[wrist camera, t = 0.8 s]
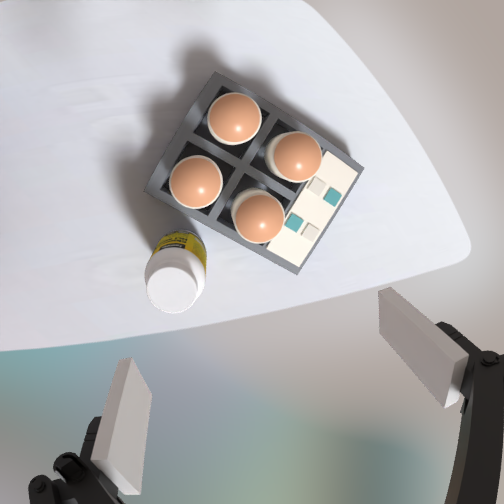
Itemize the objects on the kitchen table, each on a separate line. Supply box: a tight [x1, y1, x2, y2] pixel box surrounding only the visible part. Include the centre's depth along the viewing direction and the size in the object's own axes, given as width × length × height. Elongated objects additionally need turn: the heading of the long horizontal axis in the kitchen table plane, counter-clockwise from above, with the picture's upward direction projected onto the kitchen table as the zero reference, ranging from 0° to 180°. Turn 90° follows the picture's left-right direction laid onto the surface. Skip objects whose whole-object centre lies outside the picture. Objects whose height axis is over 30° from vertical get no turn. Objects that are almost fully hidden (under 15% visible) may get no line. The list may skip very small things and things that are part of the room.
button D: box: [264, 131, 322, 183], centre depth 32 cm, size 5×5×5 cm
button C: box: [231, 187, 285, 244], centre depth 33 cm, size 5×5×5 cm
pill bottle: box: [145, 230, 207, 313], centre depth 34 cm, size 6×6×11 cm
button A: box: [169, 155, 223, 209], centre depth 31 cm, size 5×5×5 cm
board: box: [144, 71, 364, 275], centre depth 35 cm, size 20×15×3 cm
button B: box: [207, 92, 262, 145], centre depth 30 cm, size 5×5×5 cm
